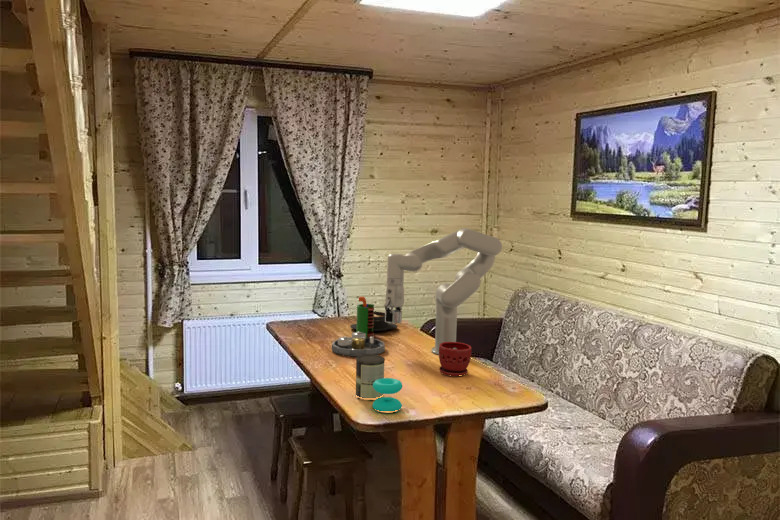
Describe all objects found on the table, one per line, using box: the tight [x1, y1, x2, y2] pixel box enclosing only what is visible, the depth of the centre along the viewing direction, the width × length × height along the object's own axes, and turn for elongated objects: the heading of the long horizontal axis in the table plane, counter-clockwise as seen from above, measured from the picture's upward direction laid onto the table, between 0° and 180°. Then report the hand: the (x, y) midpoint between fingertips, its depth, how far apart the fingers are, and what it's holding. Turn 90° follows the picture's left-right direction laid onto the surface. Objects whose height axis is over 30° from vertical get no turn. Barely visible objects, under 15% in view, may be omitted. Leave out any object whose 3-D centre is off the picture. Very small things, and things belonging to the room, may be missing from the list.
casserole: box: [349, 311, 398, 333], centre depth 346 cm, size 25×19×8 cm
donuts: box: [371, 377, 403, 411], centre depth 225 cm, size 10×10×10 cm
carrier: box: [331, 331, 386, 358], centre depth 303 cm, size 24×24×7 cm
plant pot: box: [438, 341, 472, 377], centre depth 269 cm, size 13×13×12 cm
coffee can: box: [355, 355, 386, 398], centre depth 238 cm, size 10×10×14 cm
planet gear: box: [384, 308, 403, 325], centre depth 299 cm, size 8×8×5 cm
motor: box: [355, 296, 375, 338], centre depth 329 cm, size 10×9×20 cm
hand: (393, 319), depth 299 cm, fingers closed on planet gear, 7 cm apart
